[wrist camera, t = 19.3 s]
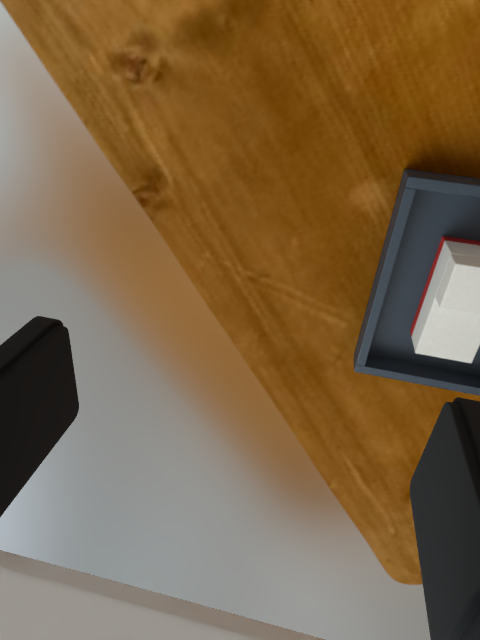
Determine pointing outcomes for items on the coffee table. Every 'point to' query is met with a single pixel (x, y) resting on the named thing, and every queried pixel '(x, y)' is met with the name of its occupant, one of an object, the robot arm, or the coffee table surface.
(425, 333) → the red-bottomed white block
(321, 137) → the coffee table surface
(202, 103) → the coffee table surface
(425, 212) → the tray
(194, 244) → the coffee table surface
